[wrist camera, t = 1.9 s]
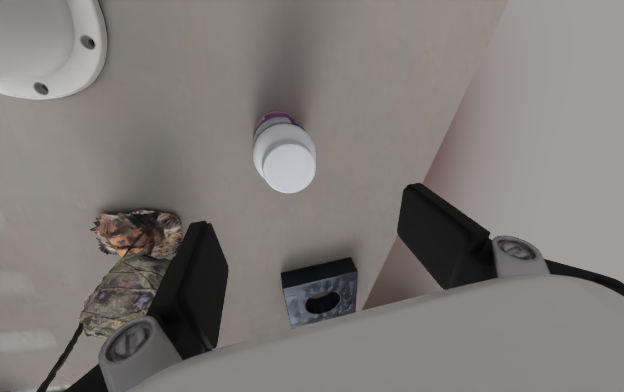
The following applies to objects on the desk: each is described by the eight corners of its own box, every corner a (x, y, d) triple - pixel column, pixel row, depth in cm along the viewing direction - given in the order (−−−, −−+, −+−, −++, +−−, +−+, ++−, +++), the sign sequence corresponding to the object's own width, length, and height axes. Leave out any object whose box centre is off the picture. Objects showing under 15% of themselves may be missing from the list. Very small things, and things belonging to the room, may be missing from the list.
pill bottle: (307, 150, 26) (331, 189, 18) (263, 164, 26) (267, 210, 18) (294, 103, 23) (316, 123, 15) (245, 118, 23) (239, 147, 15)
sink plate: (280, 273, 35) (282, 289, 33) (350, 257, 37) (357, 271, 35) (289, 315, 42) (292, 331, 39) (349, 299, 43) (355, 314, 41)
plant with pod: (194, 265, 31) (121, 503, 14) (92, 248, 26) (-197, 571, 9) (211, 221, 28) (147, 454, 11) (100, 192, 23) (-295, 517, 7)
